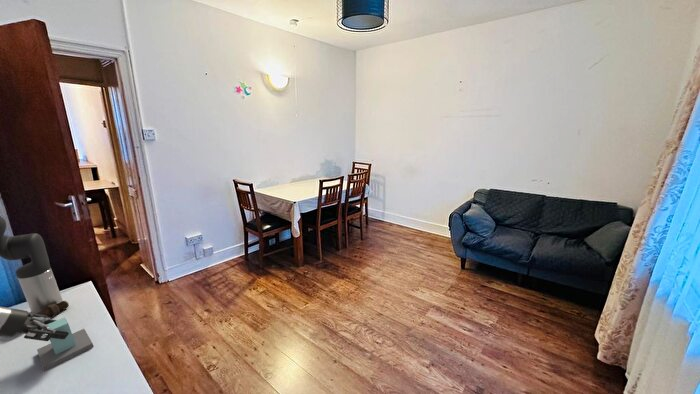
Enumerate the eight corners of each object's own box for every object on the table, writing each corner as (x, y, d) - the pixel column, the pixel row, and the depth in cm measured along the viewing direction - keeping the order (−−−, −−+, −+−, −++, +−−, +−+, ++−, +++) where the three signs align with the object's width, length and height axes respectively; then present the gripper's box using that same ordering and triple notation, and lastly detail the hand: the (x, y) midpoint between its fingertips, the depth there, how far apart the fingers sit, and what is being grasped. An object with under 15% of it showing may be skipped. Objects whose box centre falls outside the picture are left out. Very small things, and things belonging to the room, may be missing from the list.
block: (53, 347, 96) (44, 325, 93) (73, 338, 99) (65, 317, 97) (55, 354, 93) (46, 332, 90) (76, 345, 96) (68, 323, 94)
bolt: (70, 311, 119) (21, 336, 105) (62, 304, 120) (12, 328, 106) (71, 302, 117) (21, 326, 103) (63, 295, 118) (12, 318, 104)
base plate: (38, 353, 95) (34, 342, 94) (85, 331, 105) (81, 321, 103) (44, 371, 88) (39, 359, 87) (93, 346, 98) (89, 335, 96)
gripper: (11, 318, 81) (77, 327, 92) (7, 300, 89) (68, 311, 101) (-11, 345, 78) (60, 351, 90) (-13, 324, 86) (52, 332, 98)
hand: (64, 330), depth 95 cm, fingers open, 8 cm apart
